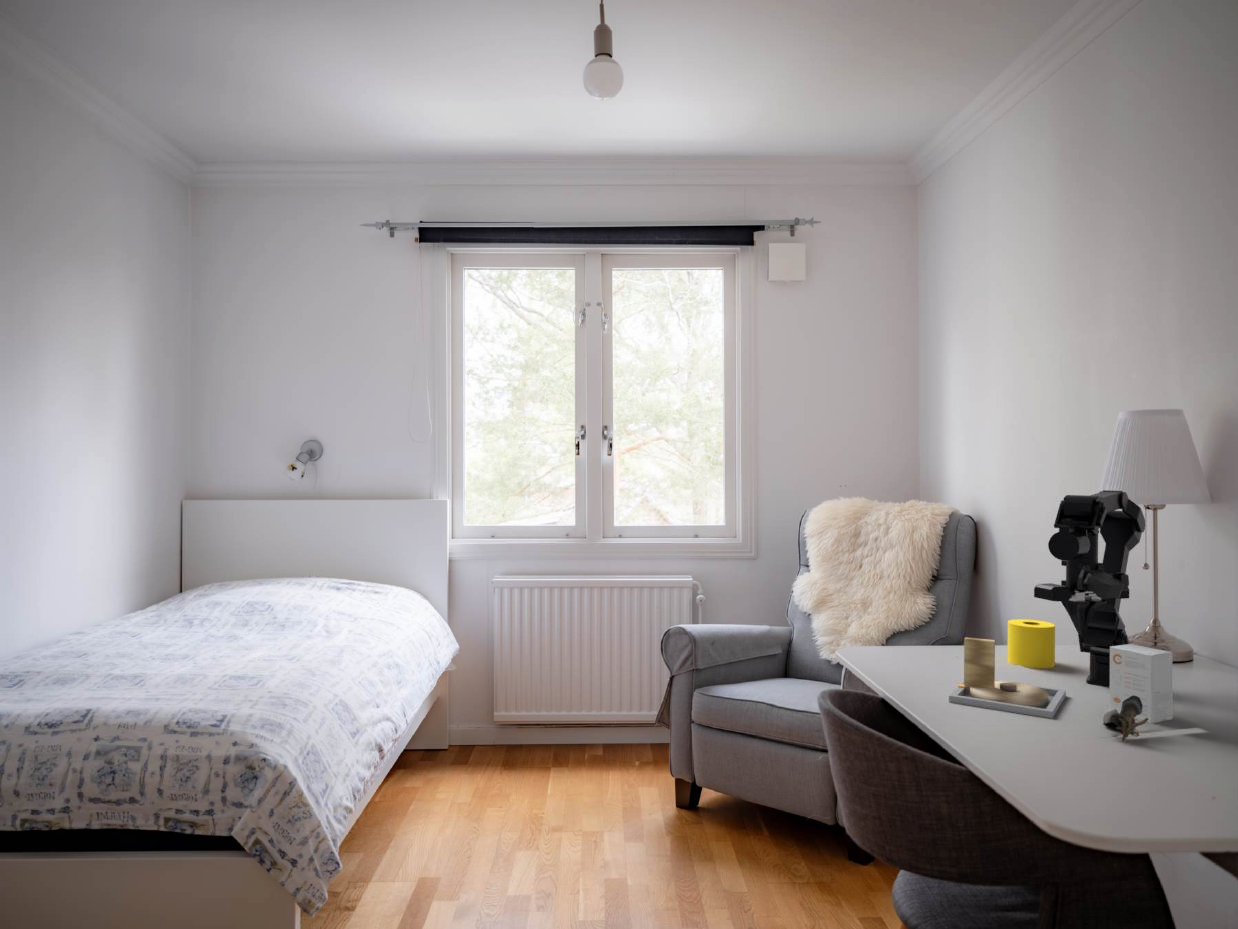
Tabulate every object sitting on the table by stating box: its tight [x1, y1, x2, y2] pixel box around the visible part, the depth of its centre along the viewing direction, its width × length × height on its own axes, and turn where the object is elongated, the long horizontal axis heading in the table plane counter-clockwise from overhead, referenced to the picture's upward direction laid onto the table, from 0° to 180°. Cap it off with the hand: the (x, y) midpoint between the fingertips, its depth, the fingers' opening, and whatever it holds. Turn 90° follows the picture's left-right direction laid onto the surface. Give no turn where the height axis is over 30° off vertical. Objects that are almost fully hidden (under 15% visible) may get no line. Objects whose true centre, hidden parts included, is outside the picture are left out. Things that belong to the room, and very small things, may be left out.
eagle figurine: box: [1102, 695, 1148, 742], centre depth 147 cm, size 8×7×9 cm
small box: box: [1109, 643, 1174, 724], centre depth 156 cm, size 8×6×13 cm
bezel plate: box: [948, 679, 1067, 720], centre depth 166 cm, size 18×18×2 cm
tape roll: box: [1007, 618, 1056, 669], centre depth 199 cm, size 10×10×9 cm
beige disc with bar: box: [963, 636, 1048, 708], centre depth 166 cm, size 15×14×11 cm
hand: (1081, 633), depth 172 cm, fingers closed
